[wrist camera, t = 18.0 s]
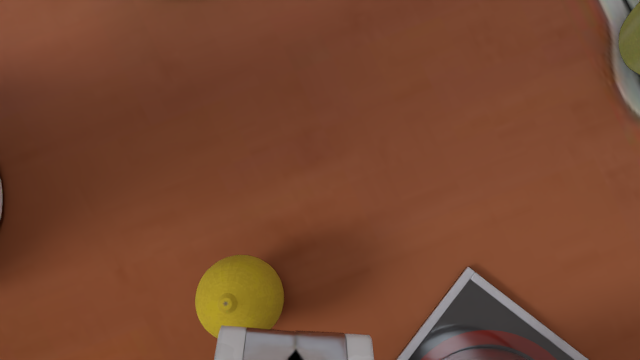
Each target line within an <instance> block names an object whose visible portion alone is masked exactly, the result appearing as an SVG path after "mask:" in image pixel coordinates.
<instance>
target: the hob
mask: <svg viewBox="0 0 640 360" xmlns="http://www.w3.org/2000/svg"><path fill="white" fill-rule="evenodd" d="M482 347H485V348H497V349H503V350H507V351H510V352H513V353H516V354H518V355H520V356H523V357H525V358H527V359H528V360H588V359H587V358H586V357H584V356H583V355H582V354H581V353H579V352H578V351H577V350H575V349H574V348H573V347H572V346H570V345H569V344H568V343H566V342H565V341H564V340H562V339H561V338H560V337H559V336H557V335H556V334H555V333H553V332H552V331H551V330H550V329H548V328H547V327H546V326H544V325H543V324H542V323H540V322H539V321H538V320H537V319H535V318H534V317H533V316H531V315H530V314H529V313H528V312H526V311H525V310H524V309H522V308H521V307H520V306H518V305H517V304H516V303H515V302H513V301H512V300H511V299H509V298H508V297H507V296H506V295H504V294H503V293H502V292H500V291H499V290H498V289H497V288H495V287H494V286H493V285H491V284H490V283H489V282H487V281H486V280H485V279H484V278H482V277H481V276H480V275H478V274H477V273H476V272H474V271H473V270H472V269H471V268H469V267H466V268H465V270H464V271H463V272H462V273H461V275H460V276H459V277H458V279H457V280H456V281H455V283H454V284H453V285H452V287H451V288H450V289H449V290H448V292H447V293H446V294H445V296H444V297H443V298H442V300H441V301H440V302H439V303H438V305H437V306H436V307H435V309H434V310H433V311H432V313H431V314H430V315H429V317H428V318H427V319H426V320H425V322H424V323H423V324H422V326H421V327H420V328H419V330H418V331H417V332H416V333H415V335H414V336H413V337H412V339H411V340H410V341H409V343H408V344H407V345H406V347H405V348H404V349H403V350H402V352H401V353H400V354H399V356H398V357H397V358H396V360H443V359H445V358H446V357H448V356H450V355H452V354H455V353H457V352H460V351H463V350H467V349H472V348H482Z"/></svg>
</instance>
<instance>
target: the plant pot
mask: <svg viewBox="0 0 640 360" xmlns="http://www.w3.org/2000/svg"><path fill="white" fill-rule="evenodd" d="M619 50H620V53H621V56H622V58H623V60H624V62H625V64H626V65H627V66H628V67H629V68H630V69H631V70H633V71H634V72H636V73H638V74H639V75H640V1H639V3H638V4H637V5H636V6H635V8H634V9H633V10H632V11H631V13H630V14H629V15H628V17H627V18H626V20H625V21H624V23H623V25H622V27H621V30H620V33H619Z"/></svg>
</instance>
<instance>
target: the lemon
mask: <svg viewBox="0 0 640 360" xmlns="http://www.w3.org/2000/svg"><path fill="white" fill-rule="evenodd" d="M283 304H284V290H283V286H282V283H281V280H280V278H279V276H278V275H277V273H276V271H275V270H274V269H273V268H272V267H271V266H270V265H269V264H268V263H266V262H264V261H263V260H261V259H259V258H256V257H253V256H250V255H235V256H231V257H226V258H224V259H222V260H220V261H218V262H216V263H215V264H214V265H213V266H212V267H210V268H209V269H208V270H207V271H206V273H205V274H204V276H203V277H202V278H201V280H200V282H199V285H198V288H197V290H196V297H195V305H196V312H197V315H198V317H199V320H200V322H201V323H202V325H203V326H204V328H205V329H206V330H207V331H208V332H209V333H210V334H212V335H213V336H214V337H216V338H218V334H219V331H220V328H221V325H222V326H236V327H250V328H261V329H271V328H272V327H273V326H274V325H275V323H276V322H277V320H278V318H279V316H280V314H281V312H282V308H283Z"/></svg>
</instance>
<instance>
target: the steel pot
mask: <svg viewBox="0 0 640 360" xmlns="http://www.w3.org/2000/svg"><path fill="white" fill-rule="evenodd" d="M443 360H528V359H527V358H525V357H523V356H520V355H518V354H516V353H513V352H510V351H507V350H503V349H497V348H485V347H482V348H472V349H467V350H463V351H460V352H457V353H455V354H452V355H450V356H448V357H446V358H445V359H443Z"/></svg>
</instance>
